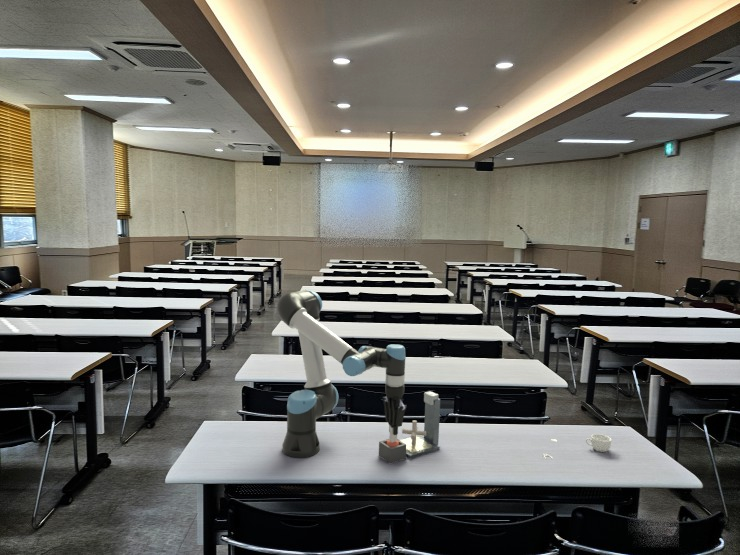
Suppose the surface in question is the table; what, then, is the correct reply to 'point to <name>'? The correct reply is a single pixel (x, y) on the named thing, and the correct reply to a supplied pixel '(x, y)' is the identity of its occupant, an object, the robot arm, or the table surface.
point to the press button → (392, 443)
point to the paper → (547, 454)
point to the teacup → (600, 442)
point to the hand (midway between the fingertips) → (393, 441)
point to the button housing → (392, 451)
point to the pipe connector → (414, 432)
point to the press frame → (426, 429)
